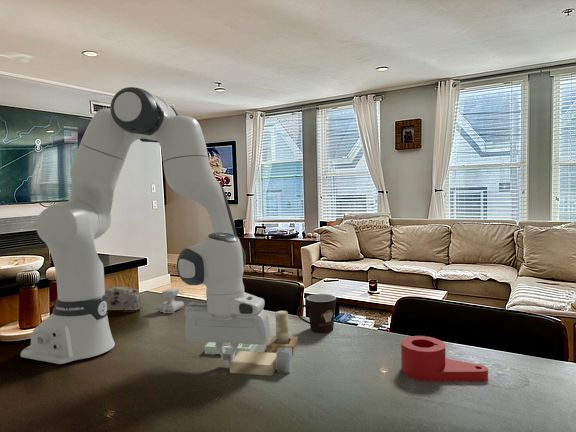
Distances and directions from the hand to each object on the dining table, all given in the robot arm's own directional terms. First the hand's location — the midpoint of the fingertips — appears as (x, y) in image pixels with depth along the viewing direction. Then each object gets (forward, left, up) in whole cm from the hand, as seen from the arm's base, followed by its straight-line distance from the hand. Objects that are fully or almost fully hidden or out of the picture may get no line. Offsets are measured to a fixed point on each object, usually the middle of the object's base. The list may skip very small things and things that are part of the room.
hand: (228, 360), depth 99 cm
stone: (-52, +37, -2) cm, 64 cm away
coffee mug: (+18, +27, -2) cm, 32 cm away
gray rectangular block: (+14, 0, -2) cm, 14 cm away
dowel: (+11, +12, -2) cm, 16 cm away
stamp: (-34, +39, -2) cm, 52 cm away
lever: (+49, +3, -2) cm, 49 cm away
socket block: (+11, +12, -2) cm, 16 cm away
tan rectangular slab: (+7, 0, -2) cm, 7 cm away
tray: (-2, +12, -2) cm, 12 cm away
